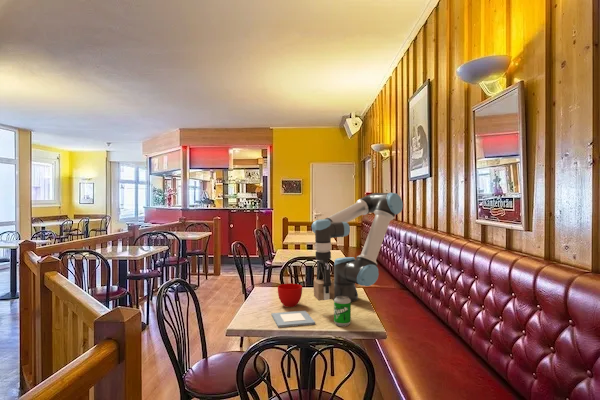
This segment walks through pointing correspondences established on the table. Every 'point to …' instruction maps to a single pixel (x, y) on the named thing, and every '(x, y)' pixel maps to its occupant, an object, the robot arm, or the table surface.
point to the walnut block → (322, 289)
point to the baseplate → (292, 319)
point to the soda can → (342, 311)
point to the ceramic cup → (289, 294)
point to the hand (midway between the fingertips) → (323, 296)
